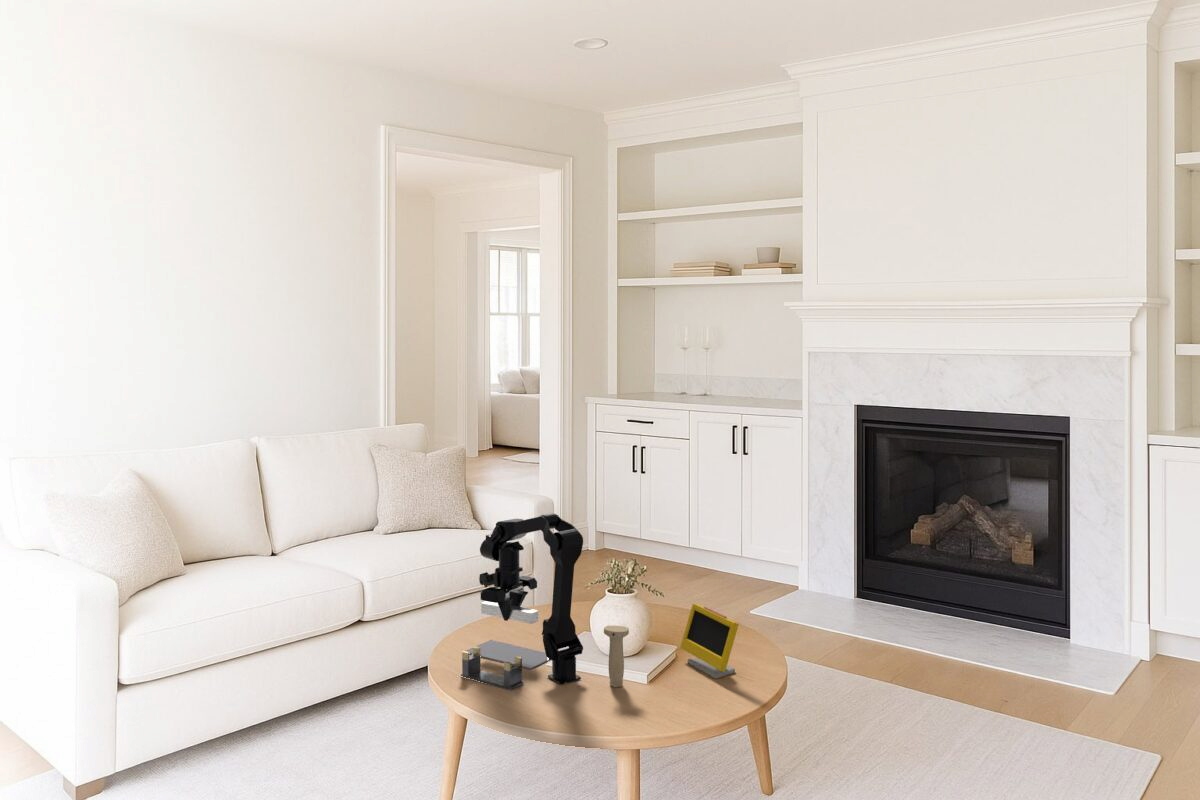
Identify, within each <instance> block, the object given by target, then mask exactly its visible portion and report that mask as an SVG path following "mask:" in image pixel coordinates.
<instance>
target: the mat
mask: <svg viewBox="0 0 1200 800" xmlns="http://www.w3.org/2000/svg"><path fill="white" fill-rule="evenodd" d="M475 647H480V656H481V657H480V658H482V657H484V658H483V659H486V658H488V659H487V660H490V659H492V660H491V661H494V660H496V661H495V662H498V661H499V662H498V663H502V664H504V662H505V661H506V662H510V663H511V666H512V665H515V664H514V657H515V656H517V657H521V658H522V669H527V670H530V671H531V670H533V669H535V668H537V667H540V666H541V665H543V664H545V663H547V662H548V661H547V657H546V653H545V651H540V650H535V649H532V648H527V647H525V646H524V647H523V646H518V645H515V644H510V643H506V642H504V641H503V642H502V641H497V640H494V639H490V640H486V641H485V642H482V643H480V644H478V645H476V646H475ZM464 651H465V652H469V653H470V654H473V647H470V648H468V649H466V650H464ZM470 654H469V655H470Z"/></svg>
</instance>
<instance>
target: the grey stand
mask: <svg viewBox="0 0 1200 800" xmlns="http://www.w3.org/2000/svg"><path fill="white" fill-rule="evenodd" d="M472 648H473V655H470V654H469V652H465V651H466V650H464V651H461V655H462V656H461V660H462V661H461V663H462V664H461V667H462V671H461V672H462V673H461V674H460V677H461V676H463V677H466V678H470V679H474V680H477V681H480V682H479V683H481V682H483V683H482V684H484V683H486V684H485V685H488V684H490V685H489V686H492V685H493V686H492V687H496V688H499V689H503V690H506V691H507V690H508V691H511V692H512V691H514V690H516V689H518V688H520V687H522V686H523V685H524V683H525V681H523V668H522V658H521V657H517V656H515V657H514V664H515V665H511V663H510V662H506V661H505V662H504V663H503V675H501V674H496V673H492V672H490V671H489V672H488V671H485V670H482V666H481V662H482V661H481V659H482V657H480V647H475V646H473V647H472ZM466 678H465V679H466ZM477 681H476V682H477Z"/></svg>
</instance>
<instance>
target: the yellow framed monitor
mask: <svg viewBox="0 0 1200 800" xmlns="http://www.w3.org/2000/svg"><path fill="white" fill-rule="evenodd" d="M738 629H739V623H737V622H735V621H733V620H732V619H729V618H728V617H727V616H726V615H724V614H722V613H720V612H717V611H715V610H713V609H712V608H709V607H707V606H701V605H700V604H697V603H695V602H694V603H692V606H691V609H690V612H689V616H688V619H687V623H686V625H685V628H684V633H683V636H682V639H681V643H680V649H682V650H683V651H685V652H687V653H688V654H691V656H694V658H688V659H687V663H688V664H689V665H690V666H693V667H695V668H696V669H698V670H699V671H701V672H703V673H705V674H707V676H709V677H711V678H713V679H715V680H717V679H720V678H723V677H726V676H728V675H732V674H734V673H736V668H734V667H733V666H731V665H729V664H728V663H729V659H730V656H731V652H732V649H733V646H734V643H735V639H736V635H737V631H738Z"/></svg>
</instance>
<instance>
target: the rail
mask: <svg viewBox="0 0 1200 800" xmlns="http://www.w3.org/2000/svg"><path fill="white" fill-rule="evenodd" d="M480 604H481V605H480V612H481V614H483V615H487V616H493V617H496V618H497V617H498V618H502V619H503V616H502V613H501V610H500V608H499V606H498V603H493V602H488V601H483V602H480ZM508 620H513V621H516V622H520V623H525V624H529V625H533V624H535V623H537V622H539V610H537V609H533V608H528V607H524V606H523V607H522V606H520V607H518V606H513V605H511V610H510V614H509V618H508Z"/></svg>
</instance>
